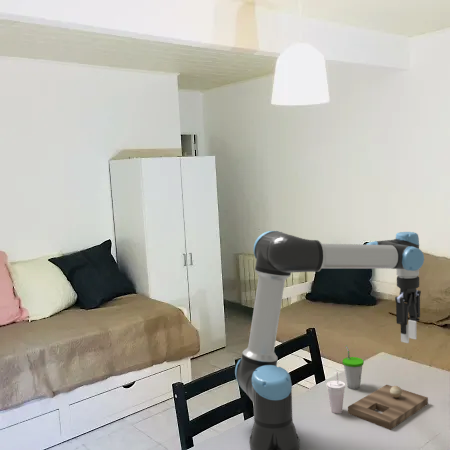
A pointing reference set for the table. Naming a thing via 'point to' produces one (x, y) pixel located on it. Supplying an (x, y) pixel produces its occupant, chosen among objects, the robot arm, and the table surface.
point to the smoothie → (336, 394)
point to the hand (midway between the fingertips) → (408, 340)
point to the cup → (353, 371)
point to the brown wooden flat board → (387, 407)
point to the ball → (396, 391)
